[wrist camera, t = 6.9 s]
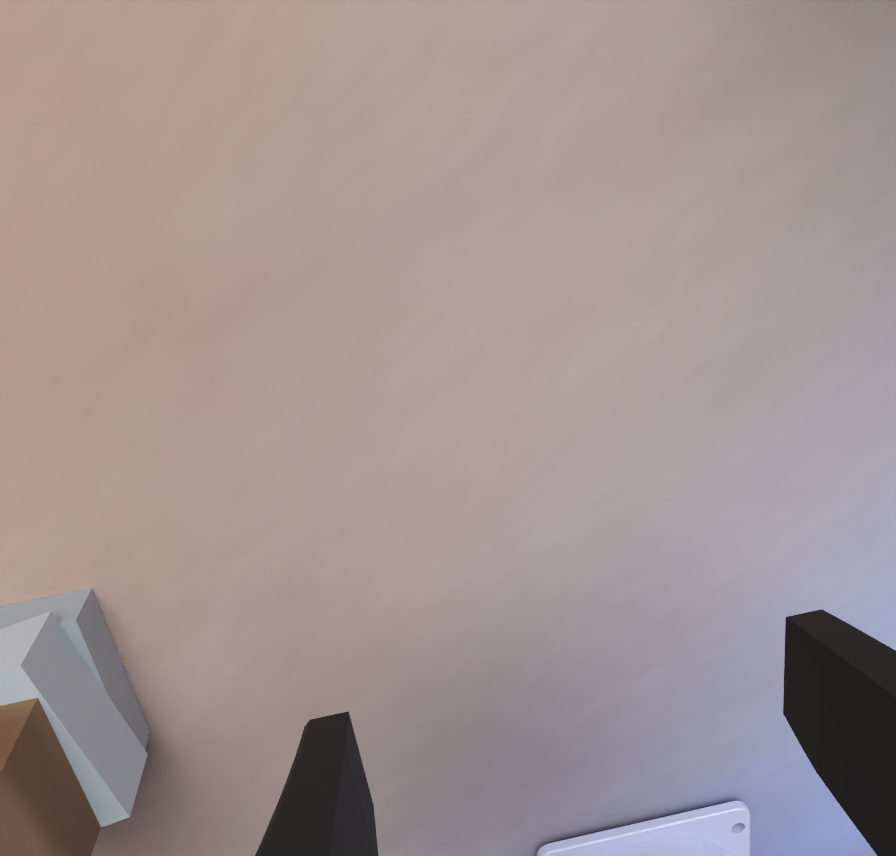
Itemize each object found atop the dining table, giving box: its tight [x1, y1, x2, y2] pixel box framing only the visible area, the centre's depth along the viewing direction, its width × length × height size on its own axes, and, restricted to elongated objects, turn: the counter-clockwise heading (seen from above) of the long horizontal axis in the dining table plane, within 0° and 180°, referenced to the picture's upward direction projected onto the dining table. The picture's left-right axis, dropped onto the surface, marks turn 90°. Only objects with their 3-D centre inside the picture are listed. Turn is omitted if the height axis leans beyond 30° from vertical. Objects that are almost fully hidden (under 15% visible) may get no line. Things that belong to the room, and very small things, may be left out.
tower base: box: [0, 588, 150, 749], centre depth 23 cm, size 6×6×2 cm
